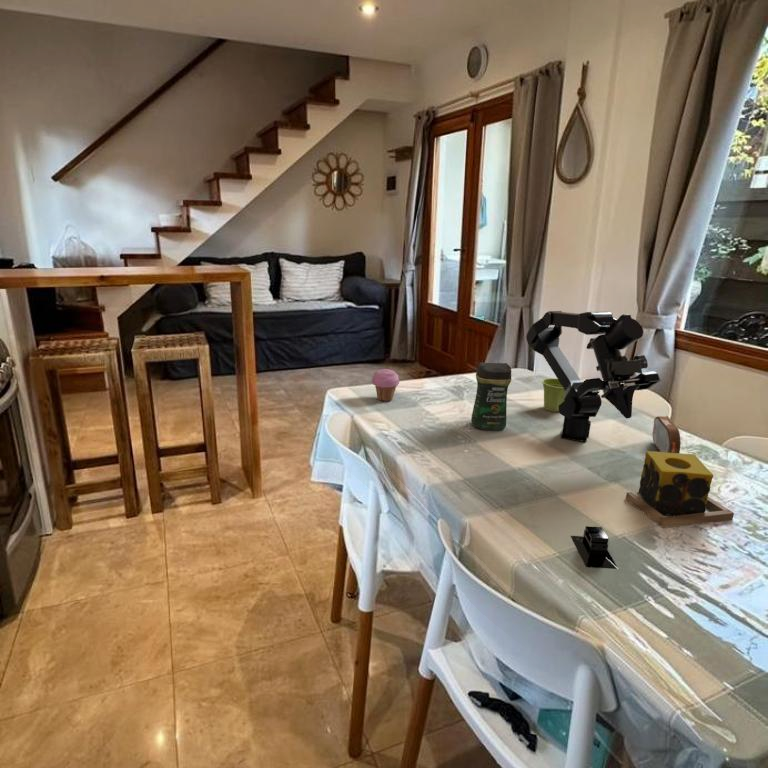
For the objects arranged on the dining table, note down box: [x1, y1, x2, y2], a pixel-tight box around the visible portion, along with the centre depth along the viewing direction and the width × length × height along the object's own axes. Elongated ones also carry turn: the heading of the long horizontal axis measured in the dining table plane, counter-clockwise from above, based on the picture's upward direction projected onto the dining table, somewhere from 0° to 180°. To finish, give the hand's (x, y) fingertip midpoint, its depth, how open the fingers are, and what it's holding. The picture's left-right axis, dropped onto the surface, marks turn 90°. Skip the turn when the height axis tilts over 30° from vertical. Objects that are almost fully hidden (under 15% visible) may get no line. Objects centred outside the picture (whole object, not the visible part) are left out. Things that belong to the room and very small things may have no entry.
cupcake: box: [371, 368, 400, 402], centre depth 169 cm, size 9×9×10 cm
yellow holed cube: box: [638, 450, 714, 516], centre depth 111 cm, size 10×10×10 cm
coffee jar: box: [470, 362, 512, 431], centre depth 149 cm, size 10×8×19 cm
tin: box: [652, 415, 681, 453], centre depth 137 cm, size 15×3×8 cm, turn 168°
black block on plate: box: [570, 525, 619, 570], centre depth 95 cm, size 12×7×5 cm, turn 177°
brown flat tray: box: [625, 491, 735, 528], centre depth 110 cm, size 11×16×2 cm
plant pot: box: [541, 377, 565, 413], centre depth 166 cm, size 9×9×9 cm
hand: (628, 417), depth 126 cm, fingers closed
